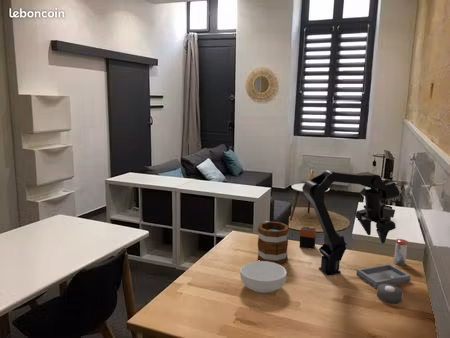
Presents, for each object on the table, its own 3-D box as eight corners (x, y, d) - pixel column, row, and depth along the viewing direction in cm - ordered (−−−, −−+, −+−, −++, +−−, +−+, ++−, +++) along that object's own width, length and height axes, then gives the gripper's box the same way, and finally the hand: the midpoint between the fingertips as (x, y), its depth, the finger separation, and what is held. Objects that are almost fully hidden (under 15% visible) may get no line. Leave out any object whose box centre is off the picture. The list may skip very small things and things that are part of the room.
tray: (376, 288, 136) (376, 282, 136) (356, 275, 146) (356, 269, 146) (410, 281, 141) (410, 275, 141) (388, 269, 151) (389, 263, 151)
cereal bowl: (291, 282, 141) (291, 265, 140) (278, 304, 126) (279, 285, 125) (249, 273, 148) (249, 257, 147) (233, 293, 133) (233, 275, 132)
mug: (292, 265, 155) (293, 231, 152) (260, 267, 154) (261, 232, 151) (279, 246, 174) (280, 216, 172) (251, 248, 173) (252, 217, 170)
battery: (314, 249, 171) (315, 229, 170) (299, 247, 174) (300, 227, 172) (315, 246, 175) (316, 225, 174) (300, 244, 178) (301, 224, 176)
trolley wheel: (388, 305, 125) (389, 295, 124) (371, 293, 132) (372, 284, 132) (406, 301, 128) (407, 291, 127) (389, 290, 135) (390, 280, 134)
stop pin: (399, 266, 154) (401, 243, 152) (391, 261, 158) (393, 239, 156) (407, 264, 156) (410, 242, 154) (399, 260, 160) (401, 238, 158)
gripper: (406, 205, 141) (408, 242, 145) (376, 193, 159) (379, 226, 162) (381, 211, 139) (383, 249, 142) (353, 199, 157) (356, 232, 160)
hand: (375, 239), depth 152 cm, fingers open, 9 cm apart
